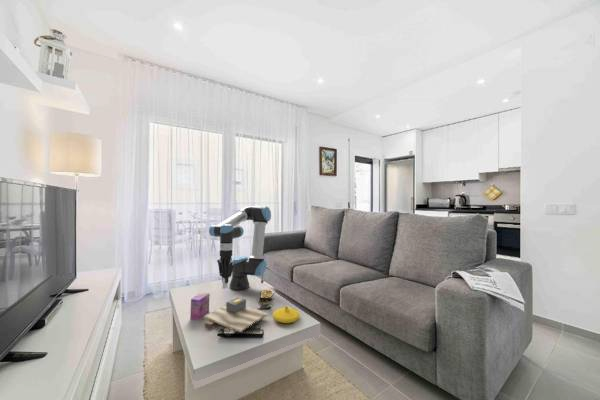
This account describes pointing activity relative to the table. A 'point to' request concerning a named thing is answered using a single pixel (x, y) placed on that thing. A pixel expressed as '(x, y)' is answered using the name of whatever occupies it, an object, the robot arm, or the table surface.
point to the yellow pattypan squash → (286, 315)
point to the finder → (236, 305)
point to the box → (199, 306)
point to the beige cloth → (234, 318)
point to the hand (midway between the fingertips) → (225, 287)
